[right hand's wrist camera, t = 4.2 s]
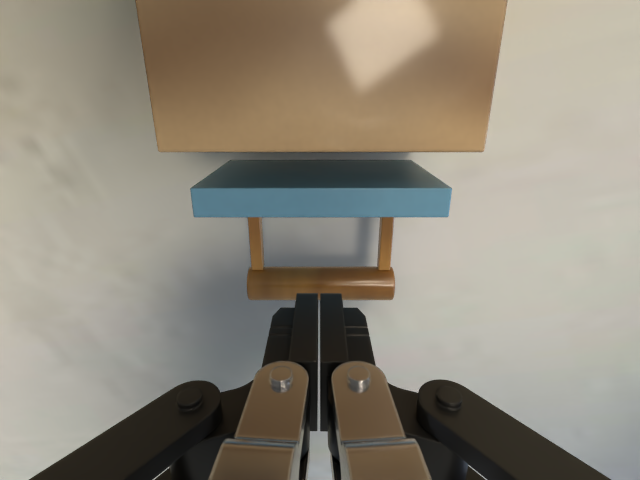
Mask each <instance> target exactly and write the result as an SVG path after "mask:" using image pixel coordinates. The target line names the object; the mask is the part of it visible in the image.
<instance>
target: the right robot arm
mask: <svg viewBox="0 0 640 480" xmlns="http://www.w3.org/2000/svg"><path fill="white" fill-rule="evenodd" d="M317 403H318V293H297V295H296V303H295V308H280V309H279V310H278V311H277V312H276V313H275V314H274V315H273V317H272V322H271V328H270V331H269V336H268V341H267V345H266V350H265V354H264V359H263V364H262V368H261V369H260V370H259V371H258V372H257V373H256V375H255V377H254V380H252V381H251V382H250V383H248V384H246V385H244V386H242V387H240V388H237V389H233V390H229V391H225V392H221V393H220V391H219V389H218V388H217V387H216V386H215V385H214V384H212V383H210V382H207V381H199V380H198V381H190V382H186V383H183V384H181V385H178V386H176V387H175V388H173V389H171V390H170V391H168V392H167V393H165V394H163V395H162V396H160V397H159V398H157V399H156V400H154V401H152V402H151V403H149V404H148V405H146V406H145V407H143V408H141V409H140V410H138V411H137V412H135V413H133V414H132V415H130V416H129V417H127V418H126V419H124V420H122V421H121V422H119V423H118V424H116V425H115V426H113V427H111V428H110V429H108V430H107V431H105V432H103V433H102V434H100V435H99V436H97V437H96V438H94V439H92V440H91V441H89V442H88V443H86V444H85V445H83V446H81V447H80V448H78V449H77V450H75V451H73V452H72V453H70V454H69V455H67V456H66V457H64V458H62V459H61V460H59V461H58V462H56V463H55V464H53V465H51V466H50V467H48V468H47V469H45V470H43V471H42V472H40V473H39V474H37V475H36V476H34V477H32V478H31V479H29V480H153V479H154V478H155V477H156V476H158V475H159V474H160V473H161V472H163V471H164V470H165V469H166V468H168V467H169V469H167V470H166V471H165V472H164V473H162V474H161V475H160V476H159V477H157V478H156V479H155V480H307V478H308V469H309V460H310V449H309V441H310V431H317ZM320 431H328V447H329V450H330V460H331V469H332V478H333V480H485V479H484V478H483V477H481V476H480V475H479V474H478V473H476V472H475V471H474V470H473V469H471V468H470V467H469V466H468V464H469V465H470V466H471V467H472V468H474V469H475V470H476V471H477V472H479V473H480V474H481V475H482V476H484V477H485V478H486V479H487V480H611V479H609V478H608V477H606V476H604V475H603V474H601V473H600V472H598V471H597V470H595V469H593V468H592V467H590V466H589V465H587V464H585V463H584V462H582V461H581V460H579V459H578V458H576V457H574V456H573V455H571V454H570V453H568V452H567V451H565V450H563V449H562V448H560V447H559V446H557V445H555V444H554V443H552V442H551V441H549V440H548V439H546V438H544V437H543V436H541V435H540V434H538V433H537V432H535V431H533V430H532V429H530V428H529V427H527V426H525V425H524V424H522V423H521V422H519V421H518V420H516V419H514V418H513V417H511V416H510V415H508V414H507V413H505V412H503V411H502V410H500V409H499V408H497V407H495V406H494V405H492V404H491V403H489V402H488V401H486V400H484V399H483V398H481V397H480V396H478V395H477V394H475V393H473V392H472V391H470V390H469V389H467V388H465V387H464V386H462V385H460V384H458V383H455V382H452V381H448V380H432V381H429V382H427V383H425V384H423V385H422V386H421V388H420V389H419V392H418V393H416V392H412V391H408V390H404V389H400V388H397V387H395V386H393V385H391V384H389V383H388V382H387V380H386V377H385V375H384V373H383V372H382V371H381V370H380V369H379V368H378V367H376V365H375V361H374V356H373V351H372V346H371V341H370V337H369V332H368V328H367V322H366V317H365V315H364V314H363V313H362V312H361V311H360V310H359V309H358V308H343V302H342V294H341V293H320Z"/></svg>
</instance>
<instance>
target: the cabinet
mask: <svg viewBox="0 0 640 480" xmlns="http://www.w3.org/2000/svg"><path fill="white" fill-rule="evenodd" d="M135 1H136V8H137V14H138V21H139V27H140V34H141V41H142V47H143V54H144V60H145V67H146V73H147V80H148V87H149V93H150V100H151V106H152V113H153V120H154V126H155V133H156V139H157V146H158V151H159V152H483V151H484V149H485V143H486V136H487V130H488V123H489V117H490V110H491V104H492V97H493V91H494V84H495V78H496V71H497V65H498V58H499V52H500V45H501V39H502V32H503V26H504V19H505V13H506V6H507V0H135Z"/></svg>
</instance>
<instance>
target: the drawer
mask: <svg viewBox="0 0 640 480" xmlns="http://www.w3.org/2000/svg"><path fill="white" fill-rule="evenodd" d="M190 190H191V198H192V206H193V214H194V217H248V226H249V240H250V254H251V267H250V268H249V270H248V275H247V294H248V298H249V300H296V295H297V293H318V300H320V293H341V294H342V300H392V299H393V297H394V293H395V277H394V271H393V268H392V267H390V264H391V250H392V237H393V223H394V217H448V216H449V208H450V200H451V192H452V188H451V187H449V186H448V185H446V184H445V183H443V182H442V181H441V180H439V179H438V178H436V177H435V176H433V175H432V174H430V173H429V172H428V171H426V170H425V169H423V168H422V167H420V166H419V165H417V164H416V163H414V162H413V161H412V160H230V161H229V162H227V163H226V164H224V165H223V166H221V167H220V168H219V169H217V170H216V171H214V172H213V173H212V174H210V175H209V176H207V177H206V178H204V179H203V180H202V181H200V182H199V183H197V184H196V185H194V186H193V187H192V188H191V189H190ZM262 217H380V228H379V244H378V261H377V266H378V267H264V250H263V233H262Z"/></svg>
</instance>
